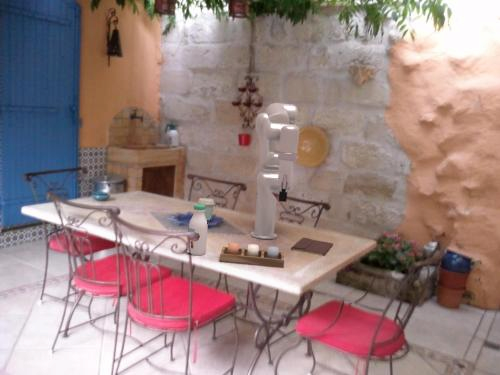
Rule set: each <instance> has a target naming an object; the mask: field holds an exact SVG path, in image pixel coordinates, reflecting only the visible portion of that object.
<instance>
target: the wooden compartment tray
mask: <svg viewBox="0 0 500 375" xmlns="http://www.w3.org/2000/svg"><path fill="white" fill-rule="evenodd" d="M227 250H228V246H223V247H222V249H221V251H220V255H219V262H220V263H226V264H227V263H228V264H239V265H240V264H241V265H249V266H259V267H268V268H269V267H270V268H279V269H284V268H285V266H284V265H285V253H284V252H283V251H279V253H278V259H274V258H267V252H268V250H264V249H263V250H262V249H261V250H260V249H259V251H258V257H254V256H247V251H248V248H240V247H239V250H238V255H233V254H227Z"/></svg>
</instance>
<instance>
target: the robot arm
mask: <svg viewBox="0 0 500 375" xmlns="http://www.w3.org/2000/svg"><path fill="white" fill-rule="evenodd" d="M298 118H299V109H298V106H296V105H295V104H291V103H281V102H274V103H271V104H269V105H268V106H267V108H266V112H261V113H259V114H257V116H256V119H255V130H256V131H255V132H256V134H257V137H258V141H259V164H260V167H261V169H264V170H263V171H260V172H258V174H257V176H256V187H257V188H256V191H257V192H256V193H257V194H256V207H255V215H254V216H255V218H254V229H253V230H252V231H250V236H251V237H253V238H255V239H261V240H274V239H277V237H278V235H277V233H275V224H276V223H275V222H276V215H277V214H276V213H277V198H276V196H275V195H274V192H277V193H278V202H281V203H282V202H284V203H286V202H287V201H288V193H290V192H292V191H293V189H294V185H295V184H294V183H295V176H294V173H295V172H294V163H295V162H297V159H298V158H297V157H298V156H297V155H298V148H299V137H300V128H299V127H298V126H297V124H296V123H297V121H298ZM278 142H279V143H278Z"/></svg>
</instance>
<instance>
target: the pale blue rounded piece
mask: <svg viewBox="0 0 500 375" xmlns="http://www.w3.org/2000/svg"><path fill="white" fill-rule="evenodd" d="M279 250H280V248H279V247H278V246H274V245H273V246H272V245H271V246H268V247H267V251H268V252H267V258H274V259H278V253H279V252H280V251H279Z"/></svg>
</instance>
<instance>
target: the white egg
mask: <svg viewBox="0 0 500 375" xmlns="http://www.w3.org/2000/svg"><path fill="white" fill-rule="evenodd" d="M247 249H248V251H247V256H254V257H258V251H259V250H260V246H259V245H258V244H253V243H250V244H247Z"/></svg>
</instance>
